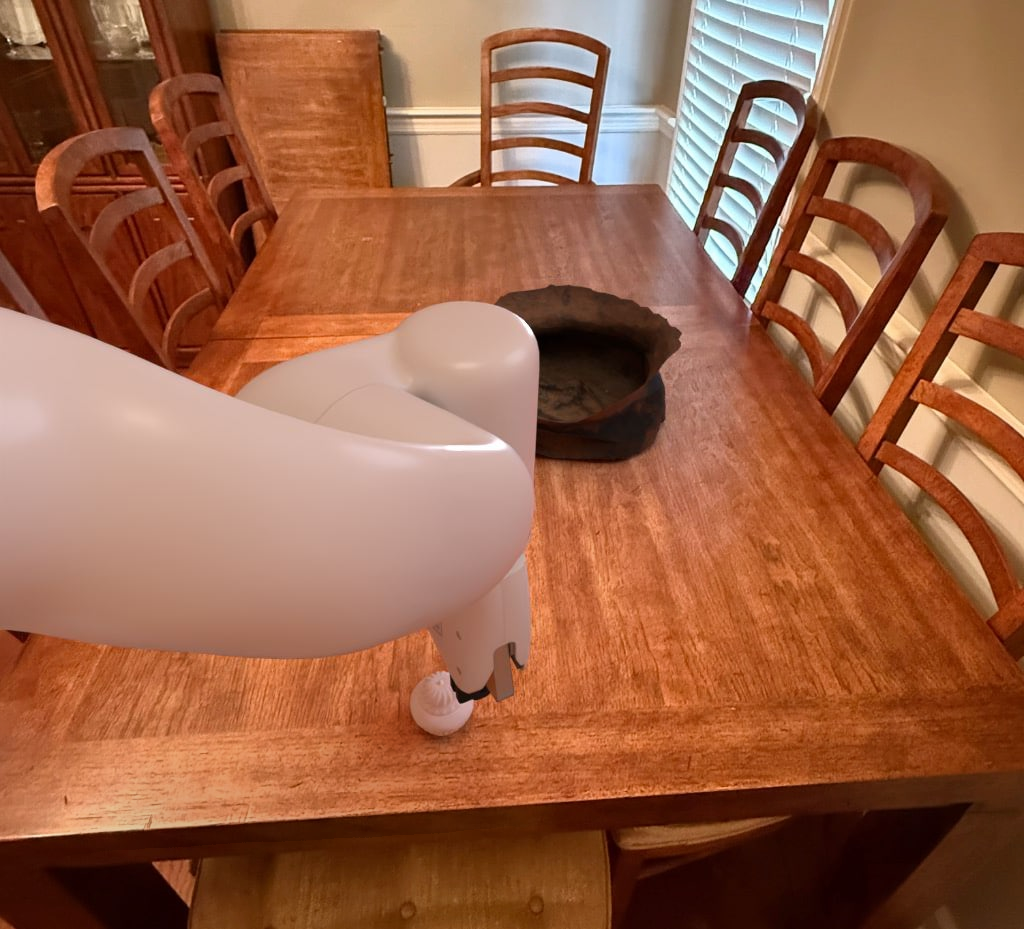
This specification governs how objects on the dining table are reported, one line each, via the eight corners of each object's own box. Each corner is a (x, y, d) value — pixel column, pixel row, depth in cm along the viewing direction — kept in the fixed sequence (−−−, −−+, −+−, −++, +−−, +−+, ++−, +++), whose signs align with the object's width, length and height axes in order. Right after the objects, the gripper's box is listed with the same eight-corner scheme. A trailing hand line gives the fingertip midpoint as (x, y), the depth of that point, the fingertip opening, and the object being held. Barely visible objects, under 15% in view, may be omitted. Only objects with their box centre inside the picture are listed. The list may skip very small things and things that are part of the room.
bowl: (663, 500, 97) (675, 418, 86) (436, 473, 103) (422, 393, 93) (676, 358, 121) (686, 280, 110) (491, 343, 127) (484, 268, 117)
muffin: (442, 682, 72) (439, 641, 68) (487, 717, 69) (487, 677, 65) (399, 724, 68) (392, 684, 64) (444, 763, 65) (440, 724, 61)
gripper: (368, 457, 45) (394, 632, 56) (459, 629, 34) (468, 800, 46) (475, 427, 47) (478, 601, 59) (589, 579, 37) (566, 752, 49)
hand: (474, 688), depth 52 cm, fingers closed
